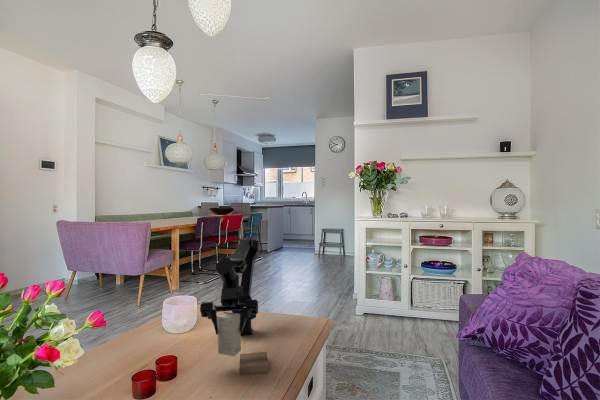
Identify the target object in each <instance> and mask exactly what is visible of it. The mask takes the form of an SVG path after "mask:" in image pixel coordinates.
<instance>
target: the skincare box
mask: <svg viewBox="0 0 600 400" xmlns="http://www.w3.org/2000/svg"><path fill="white" fill-rule="evenodd" d="M217 323H218V335H217V353H218V355H224V356H230V357H235V356H236V355H238V354H240V352H241V351H242V350H241V349H242V346H241V344H242V343H241V339H242V338H241V337H242V335H241V334H240V314H238V313H232V312H230V311H223V312H222V313H221V314H218V315H217Z"/></svg>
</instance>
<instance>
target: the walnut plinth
mask: <svg viewBox="0 0 600 400" xmlns="http://www.w3.org/2000/svg"><path fill="white" fill-rule="evenodd" d="M269 367H270V365H269V358H268V353H267V351H260V352H250V353H239V376H247V375H248V376H250V375H259V374H260V375H261V374H268V373H269Z"/></svg>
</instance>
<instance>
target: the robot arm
mask: <svg viewBox="0 0 600 400" xmlns="http://www.w3.org/2000/svg"><path fill="white" fill-rule="evenodd" d="M261 247H262V246H261V243H260V241H257V240H256V239H253V238H252V237H247V236H246V237H241V238H240V239H239V243H238V245H237V247H236V249H235V250H234V252H233V253H231V254H230V255H228V256H227V257H224V258H223V259H222V260H220V261H219V262H218V263H217V264H216V266H215V270H216V274H217V275H218V277H219V279H220V281H221V282H222V288H221V292H220V293H221V294H220V305H216V304H214V301H202V302H201V304H200V307H199V311H200V315H201V317H202V318H207V319H208V320H211V322H212V324H213V327H214V332H215V335H216V336H218V323H217V316H218V315H217V313H218V312H231V313H238V314H240V334H241V336H248V335H249V336H250V335H253V332H254V331H253V327H252V320H254V319H256V318H257V314H259V301H258V300H257V299H253V298H252V295H251V292H252V285H253V283H252V282H253V274H254V267H255V261H256V260H257V259H258V258H259V255H260V252H261ZM239 274H241V280H240V276H239Z"/></svg>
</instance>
